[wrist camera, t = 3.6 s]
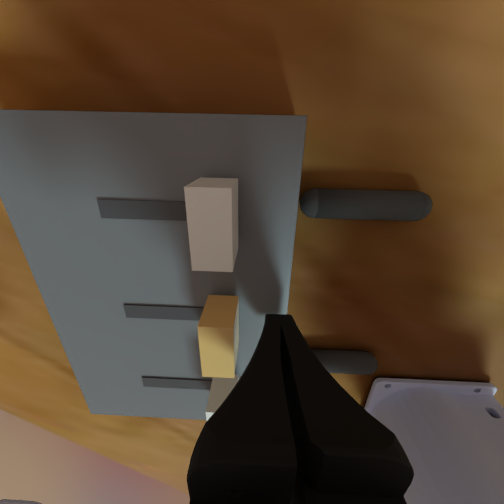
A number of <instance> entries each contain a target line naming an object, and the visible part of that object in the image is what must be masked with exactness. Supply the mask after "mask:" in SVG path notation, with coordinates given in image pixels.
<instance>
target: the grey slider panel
mask: <svg viewBox="0 0 504 504" xmlns="http://www.w3.org/2000/svg"><path fill="white" fill-rule="evenodd" d="M306 122H307V116H300V115H249V114H198V113H148V112H97V111H47V110H0V197H1V199H2V202H3V204H4V206H5V209H6V211H7V214H8V216H9V218H10V221H11V223H12V226H13V228H14V230H15V233H16V235H17V237H18V240H19V242H20V245H21V247H22V249H23V252H24V254H25V257H26V259H27V261H28V264H29V266H30V269H31V271H32V273H33V276H34V278H35V281H36V283H37V285H38V288H39V290H40V292H41V295H42V297H43V300H44V302H45V304H46V307H47V309H48V312H49V314H50V316H51V319H52V321H53V324H54V326H55V328H56V331H57V333H58V336H59V338H60V340H61V343H62V345H63V348H64V350H65V352H66V355H67V357H68V359H69V362H70V364H71V367H72V369H73V371H74V374H75V376H76V379H77V381H78V383H79V386H80V388H81V391H82V393H83V395H84V398H85V400H86V403H87V405H88V407H89V410H90V412H91V414H105V415H123V416H142V417H160V418H179V419H197V420H206V408H207V403H208V398H209V393H210V389H211V384H212V379H213V377H202V370H201V359H200V349H199V339H198V328H197V326H198V323H199V320H200V317H201V315H202V312H203V309H204V306H205V303H206V300H207V298H208V295H227V296H239V343H238V352H237V360H236V368H235V374H237V375H239V379H240V377H241V376H242V374H243V372H244V371H245V369H246V367H247V365H248V364H249V362H250V360H251V358H252V356H253V354H254V351H255V349H256V347H257V345H258V342H259V339H260V337H261V334H262V331H263V327H264V323H265V315H266V314H287V308H288V298H289V288H290V278H291V269H292V259H293V249H294V239H295V230H296V220H297V210H298V200H299V191H300V181H301V171H302V161H303V151H304V142H305V132H306ZM200 177H206V178H238V251H237V256H236V260H235V265H234V269H233V272H215V271H192V266H191V256H190V246H189V235H188V225H187V214H186V204H185V194H184V186H186V185H188V184H190V183H192V182H193V181H195V180H197V179H199V178H200Z"/></svg>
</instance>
